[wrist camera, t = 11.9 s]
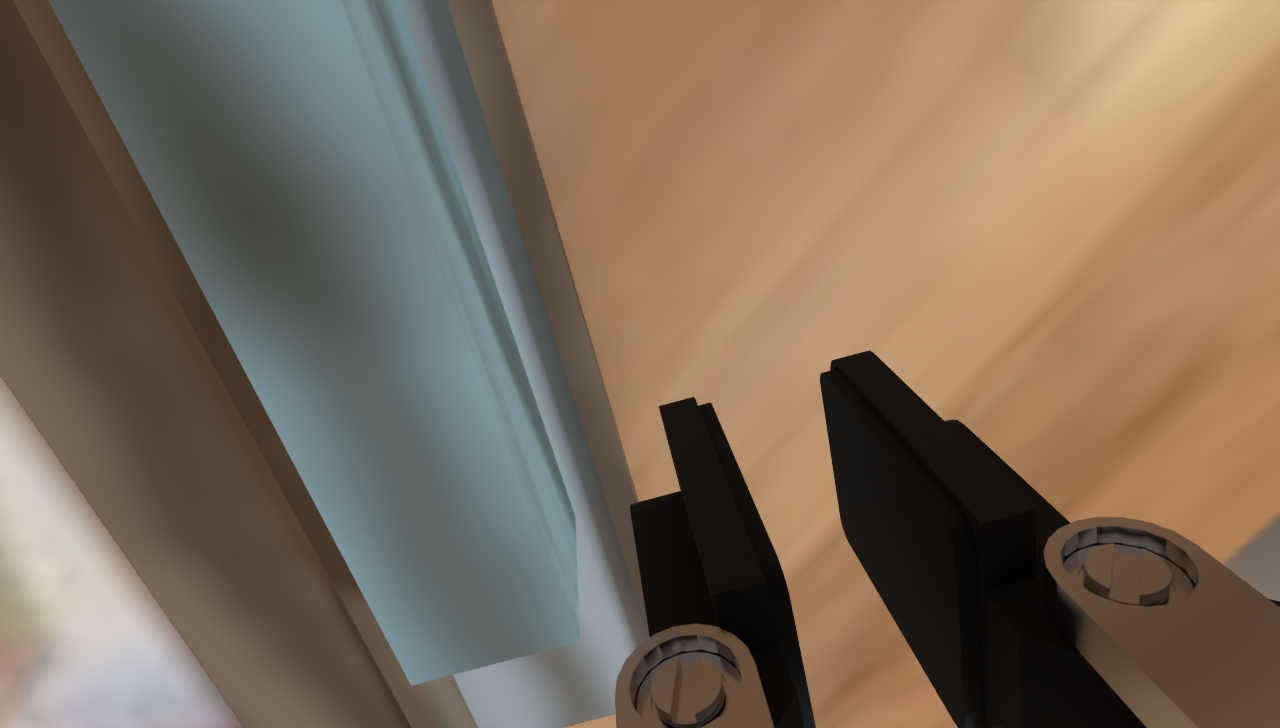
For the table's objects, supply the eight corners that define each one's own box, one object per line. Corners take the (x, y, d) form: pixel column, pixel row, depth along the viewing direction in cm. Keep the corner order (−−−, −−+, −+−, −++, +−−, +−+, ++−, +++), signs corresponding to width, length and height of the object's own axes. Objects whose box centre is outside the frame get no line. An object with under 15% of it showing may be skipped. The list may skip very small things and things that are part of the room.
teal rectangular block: (386, -35, 18) (313, -70, 13) (575, 516, 26) (579, 641, 20) (200, 15, 18) (48, 0, 13) (442, 551, 26) (411, 686, 20)
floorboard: (315, -597, 15) (264, -732, 12) (693, 687, 30) (705, 745, 28) (-435, -394, 15) (-644, -487, 12) (329, 782, 30) (309, 849, 28)
